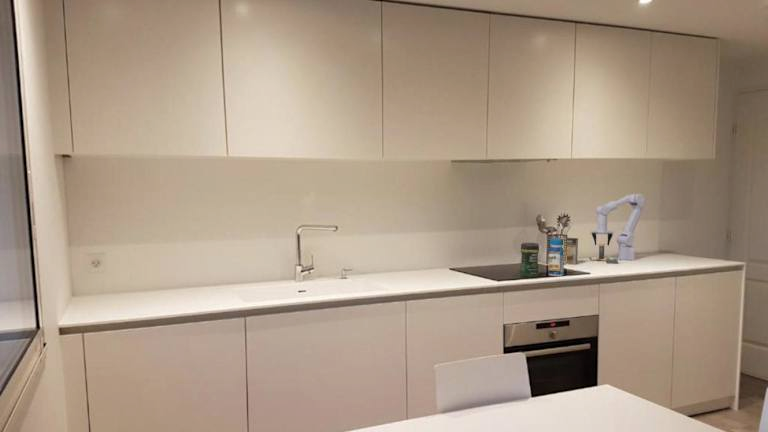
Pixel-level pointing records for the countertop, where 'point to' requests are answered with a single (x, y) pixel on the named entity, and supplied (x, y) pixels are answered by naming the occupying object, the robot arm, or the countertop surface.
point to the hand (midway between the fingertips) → (601, 245)
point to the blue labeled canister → (556, 258)
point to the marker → (601, 251)
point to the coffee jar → (529, 260)
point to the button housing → (612, 261)
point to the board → (597, 259)
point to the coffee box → (572, 250)
